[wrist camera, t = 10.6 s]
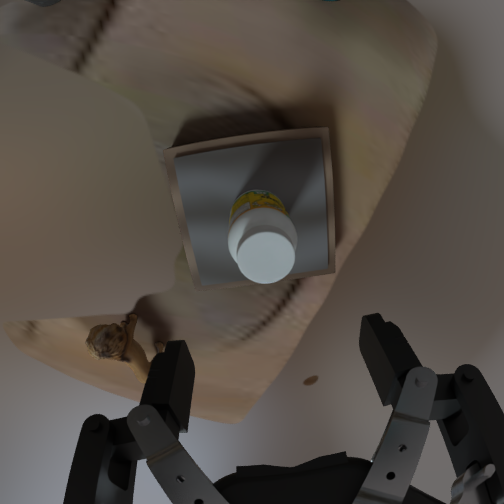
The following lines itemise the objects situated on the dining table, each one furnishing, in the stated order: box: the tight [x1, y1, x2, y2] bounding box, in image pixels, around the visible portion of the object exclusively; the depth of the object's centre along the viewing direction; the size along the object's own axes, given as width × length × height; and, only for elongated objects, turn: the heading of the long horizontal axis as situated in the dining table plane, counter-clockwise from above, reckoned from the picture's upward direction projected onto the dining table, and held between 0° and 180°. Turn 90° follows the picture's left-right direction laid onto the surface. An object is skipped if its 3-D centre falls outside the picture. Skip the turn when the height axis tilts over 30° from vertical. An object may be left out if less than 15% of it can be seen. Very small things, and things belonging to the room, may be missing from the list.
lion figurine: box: [85, 314, 163, 384], centre depth 36 cm, size 15×5×9 cm, turn 35°
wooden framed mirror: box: [163, 127, 335, 292], centre depth 30 cm, size 16×16×4 cm
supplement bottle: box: [228, 190, 297, 283], centre depth 24 cm, size 5×5×10 cm
